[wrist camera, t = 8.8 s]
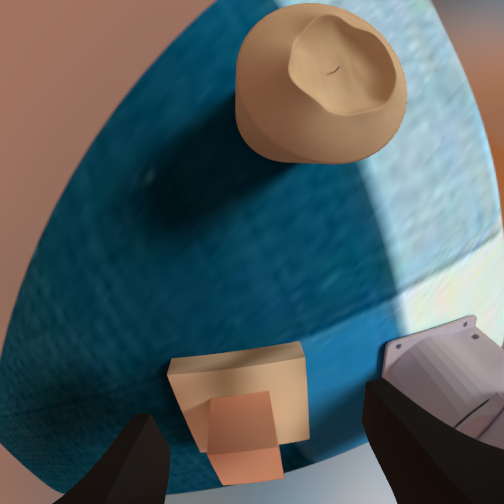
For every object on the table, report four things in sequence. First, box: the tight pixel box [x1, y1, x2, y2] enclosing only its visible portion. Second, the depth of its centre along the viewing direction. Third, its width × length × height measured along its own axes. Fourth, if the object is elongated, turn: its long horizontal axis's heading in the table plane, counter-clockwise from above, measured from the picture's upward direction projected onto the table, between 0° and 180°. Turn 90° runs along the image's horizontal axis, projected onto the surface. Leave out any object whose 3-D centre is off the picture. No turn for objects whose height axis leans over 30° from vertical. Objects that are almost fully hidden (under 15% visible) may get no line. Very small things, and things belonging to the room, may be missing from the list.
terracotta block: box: [207, 391, 284, 485], centre depth 17 cm, size 4×4×5 cm
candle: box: [235, 3, 407, 164], centre depth 11 cm, size 6×6×10 cm
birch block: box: [167, 341, 310, 452], centre depth 21 cm, size 9×9×2 cm
